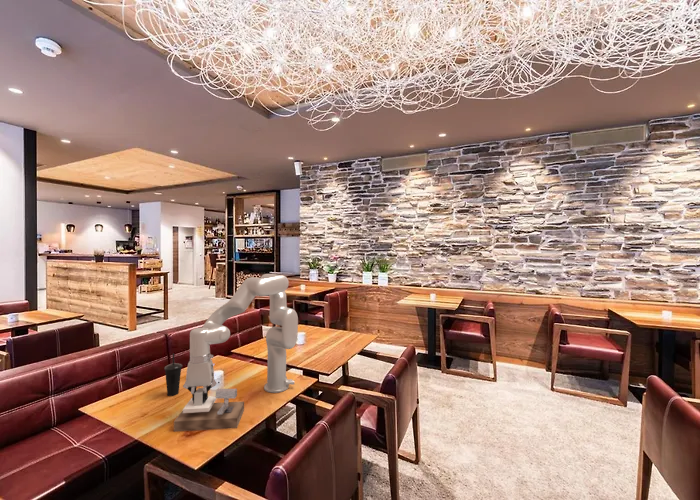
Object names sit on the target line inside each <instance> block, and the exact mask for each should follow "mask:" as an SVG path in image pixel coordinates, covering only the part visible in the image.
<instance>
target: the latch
mask: <svg viewBox="0 0 700 500" xmlns="http://www.w3.org/2000/svg"><path fill="white" fill-rule="evenodd" d="M215 396H216V399H223V402H224V404H223V405H222V407H221V408H220V409H219V411H218V412H217V414H223V413H224V412H225V410H227V409H228V408H229V402H230V401H229V400H230V399H236V398H237V397H238V388H217V389H216V390H215Z"/></svg>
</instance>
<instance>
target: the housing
mask: <svg viewBox="0 0 700 500" xmlns="http://www.w3.org/2000/svg"><path fill="white" fill-rule="evenodd" d="M223 404H224V401H223V402H214V404H213V406H212V407H211V409H210V410H209V412H194V413H183V410H182V411H181V412H180V413H179V414H178V416H177V417H176V418H175V419H174V421H173V432H175V433H176V432H187V431H188V432H190V431H193V432H194V431H208V430H225V429H226V430H227V429H238V426H239V424H240V423H241V422H240V421H241V420H242V417H243V414H244V412H245V401H229V408H228V409H227V410H225V412H224V413H223V414H217V412H218V411H219V409H220V408H221V407H222V405H223Z"/></svg>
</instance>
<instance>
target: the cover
mask: <svg viewBox="0 0 700 500" xmlns="http://www.w3.org/2000/svg"><path fill="white" fill-rule="evenodd" d="M196 390H197V391H196V392H195V393H194V404H193V401H192V397H191V398H190V399H189V401H187V403H186V404H185V406H184V407H183V408H182V411H183V413H194V412H209V410H210V409H211V407H212V406H213V404H214V403H216V401H217V398H216V395H214V396H211V395H210V396H208V399H207V400H206V401H205V403H203V393H204V389H203V387H198V388H196Z"/></svg>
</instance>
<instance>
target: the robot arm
mask: <svg viewBox="0 0 700 500" xmlns="http://www.w3.org/2000/svg"><path fill="white" fill-rule="evenodd" d="M289 284H290V281H289V279H288V278H287V276H286V275H282V274H275V273H264V274H262V275H261V276H260V277H253V276H252V277H247V278H246V279H245V280H244V281H243V282H242V283H241V285H240V286H239V288H238V289H237V290H236V291H235V292H234V294H233V295H232V296H231V298H230V299H229V300H228V301H227V302H225V304H224V303H223V305H221V306H220V307H219V308H217V309H216V310H215V311H214V312H212V313H211V315H210V316H209V317H208V318H207V320H206V321H205V322H204V324H203V325H202V327H196V328H193V329H191V330H190V332H189V361H188V363H187V367H186V376H185V382H184V383H183V385H182V387H183V389H185V390H188V391H189V392H190V394H191V396H192V397H191V398H192V401H193V404H194V393H195V392H196V391H197V389H198V388H197V387H202V388H203V389H204V393H203V403H205V401H206V400H207V399H208V397H209V394H208V393H209V392H208V391H210V390H211V389H212V388H214V387H216V386H217V381H216V379H215V376H214V374H215V370H214V366H213V360H212V359H214V354H211V349H210V347H211V345H217V344H218V345H219V344H223V343H225V342H226V341H228V340H229V338H230V336H231V330H230V329H229V328H228V327H227V326H225V325H223V324H224V323H225V322H226V321H227V320H228V319H230V318H231V317H234V316H237V315H240V314H242V313H244V312H246V310H247V308H249V306H250V305H251V303H252V302H253V300H254V299H255V297H269V321H270V323H272V324H274V325H276V326H271V327H270V328H268V329H267V331H266V334H265V342H266V346H267V347H266V348H267V368H266V369H267V371H266V375H267V377H266V378H267V379H266V382H267V383H265V384H264V385H263V390H264V391H265V392H266V393H271V394H274V393H275V394H276V393H283V392H285V391H287V390H288V389H289V388H290V385H293V386H294V385H295V380H293V378H292V379H291V378H290V379H288V377H287V350H291V349H293V348H294V347H295V346H296V345H297V340H298V334H299V333H298V331H299V330H298V329H299V317H298V313H297V312H296V310H295V309H293V308H290V307H288V305H287V303H288V302H287V294H286V290H287V289H288V287H289Z"/></svg>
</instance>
